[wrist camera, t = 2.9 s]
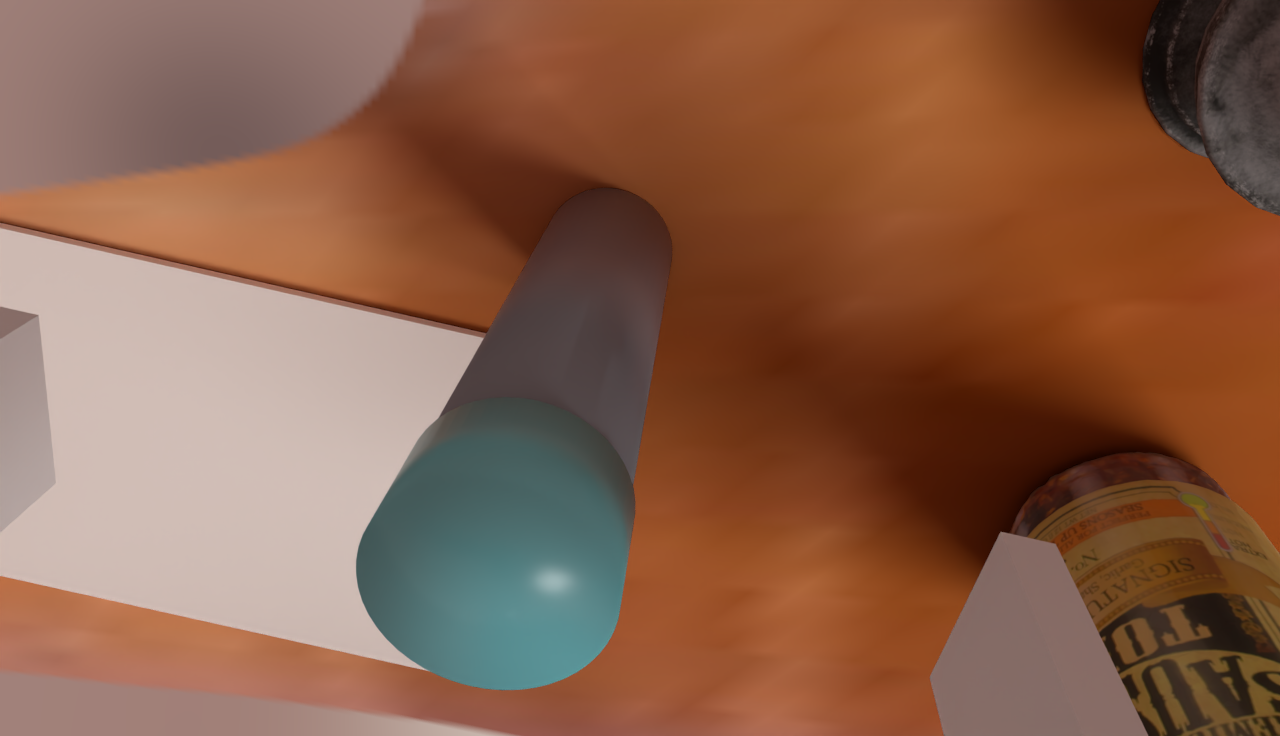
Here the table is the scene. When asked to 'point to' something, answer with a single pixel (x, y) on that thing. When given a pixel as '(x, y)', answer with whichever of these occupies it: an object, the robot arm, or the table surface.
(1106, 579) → the sauce bottle
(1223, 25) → the dark grey chess piece
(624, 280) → the marker
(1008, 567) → the robot arm
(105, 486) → the paper
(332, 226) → the table surface
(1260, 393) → the table surface
